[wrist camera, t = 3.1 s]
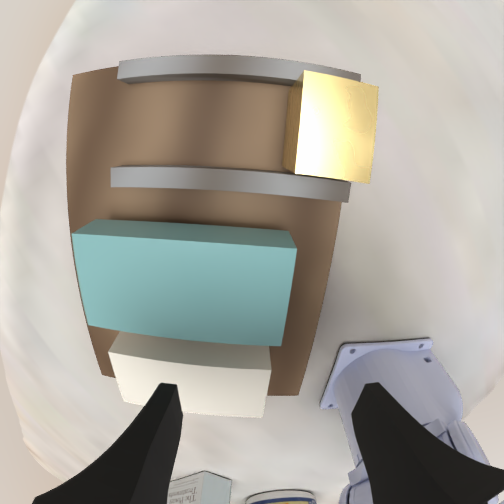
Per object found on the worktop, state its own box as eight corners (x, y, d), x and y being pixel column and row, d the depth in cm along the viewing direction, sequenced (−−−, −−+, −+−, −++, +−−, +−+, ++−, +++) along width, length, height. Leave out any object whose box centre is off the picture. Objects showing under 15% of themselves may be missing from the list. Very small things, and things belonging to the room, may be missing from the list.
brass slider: (345, 100, 12) (378, 86, 9) (338, 173, 14) (369, 183, 10) (288, 90, 12) (304, 70, 9) (281, 166, 14) (295, 173, 10)
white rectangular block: (268, 343, 18) (271, 370, 15) (260, 392, 20) (262, 417, 17) (121, 328, 17) (108, 351, 15) (132, 378, 19) (123, 401, 17)
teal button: (288, 230, 14) (297, 248, 11) (276, 317, 15) (281, 346, 13) (96, 219, 13) (71, 233, 11) (106, 301, 15) (88, 324, 13)
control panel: (342, 84, 14) (364, 71, 11) (294, 378, 22) (300, 409, 19) (88, 80, 13) (59, 71, 10) (110, 359, 21) (95, 387, 18)
